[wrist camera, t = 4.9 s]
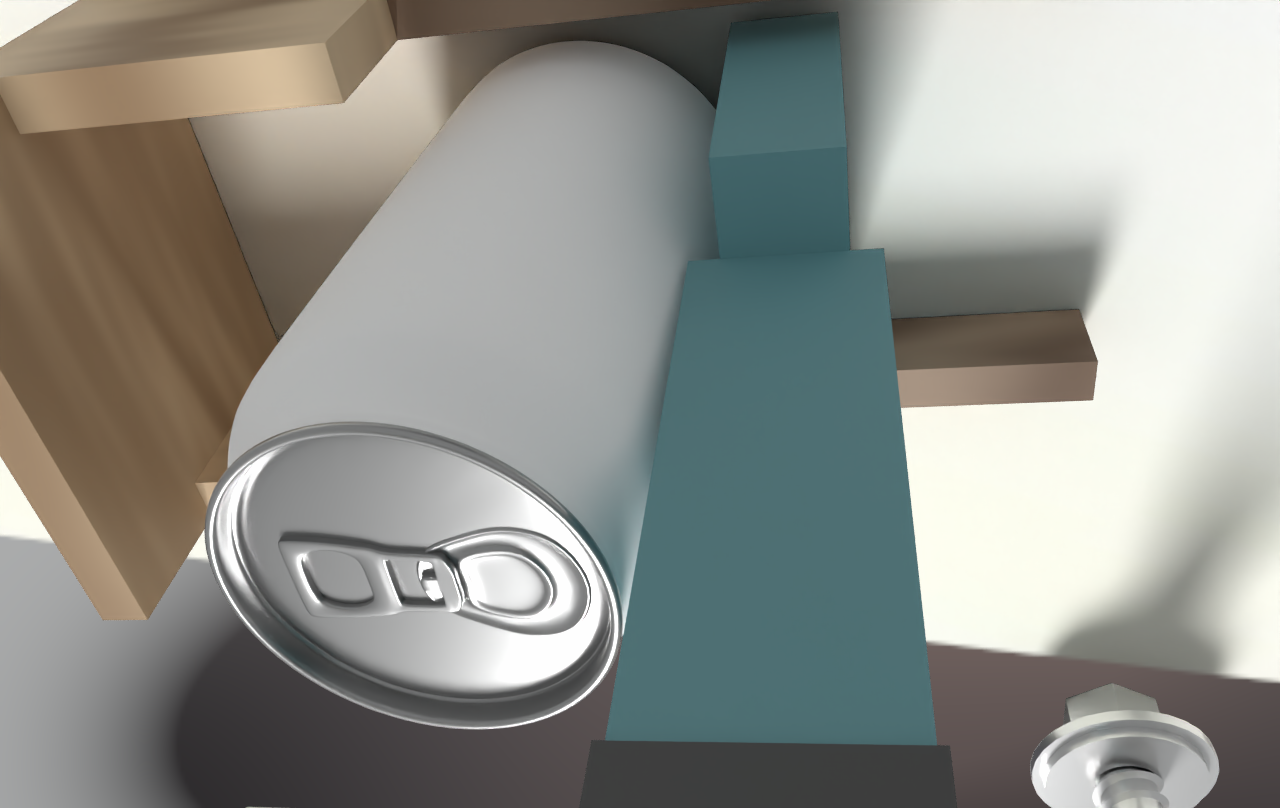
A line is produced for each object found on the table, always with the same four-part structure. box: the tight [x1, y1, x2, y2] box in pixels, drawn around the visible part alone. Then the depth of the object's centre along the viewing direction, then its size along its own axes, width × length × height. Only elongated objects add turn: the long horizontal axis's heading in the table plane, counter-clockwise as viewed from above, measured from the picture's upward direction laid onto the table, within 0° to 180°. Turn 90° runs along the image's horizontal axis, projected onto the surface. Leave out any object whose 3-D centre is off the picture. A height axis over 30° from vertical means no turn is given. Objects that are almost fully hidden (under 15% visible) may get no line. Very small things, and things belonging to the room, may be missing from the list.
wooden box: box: [0, 0, 1098, 620], centre depth 21 cm, size 20×10×8 cm, turn 98°
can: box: [205, 41, 720, 729], centre depth 19 cm, size 6×6×12 cm
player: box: [579, 12, 957, 808], centre depth 15 cm, size 3×6×19 cm, turn 8°
